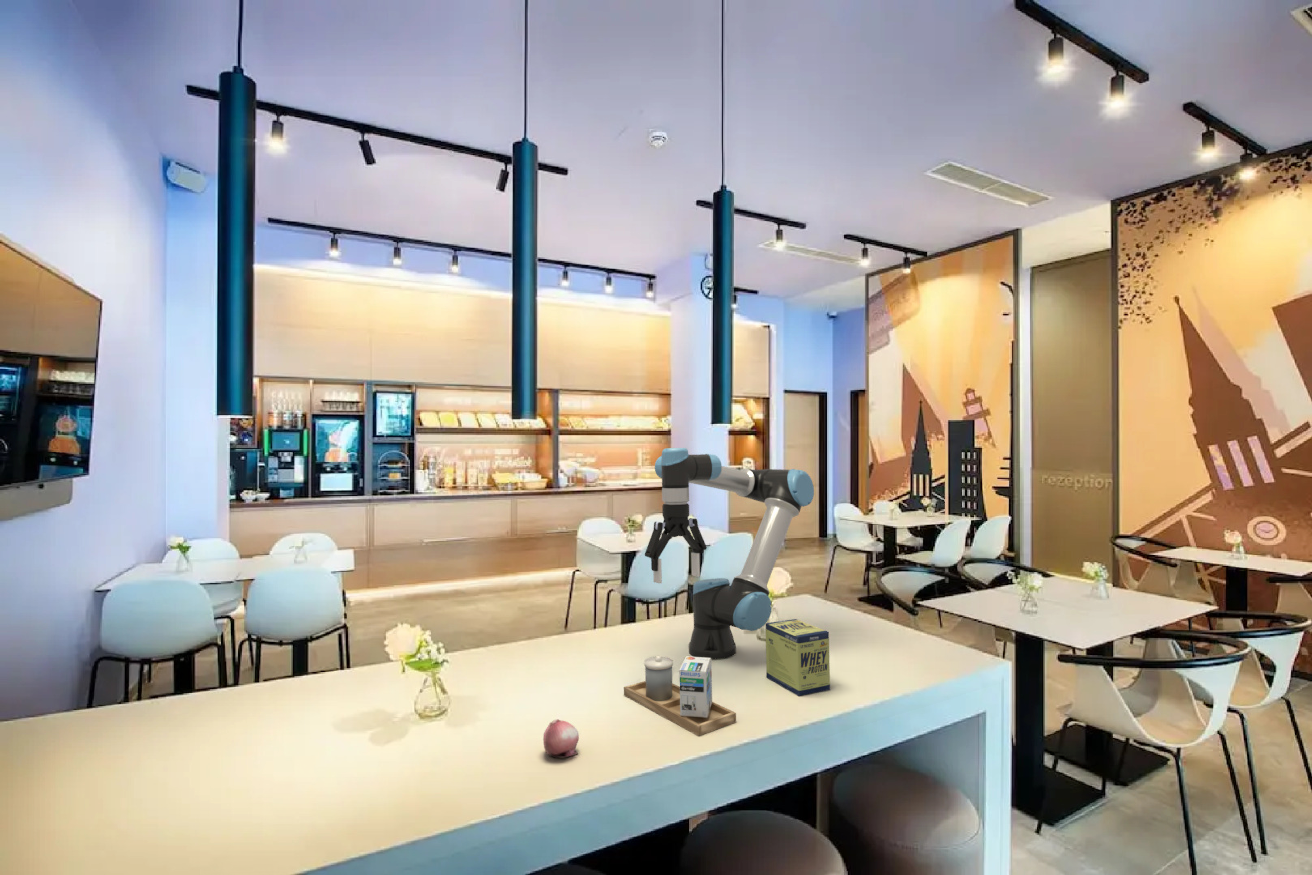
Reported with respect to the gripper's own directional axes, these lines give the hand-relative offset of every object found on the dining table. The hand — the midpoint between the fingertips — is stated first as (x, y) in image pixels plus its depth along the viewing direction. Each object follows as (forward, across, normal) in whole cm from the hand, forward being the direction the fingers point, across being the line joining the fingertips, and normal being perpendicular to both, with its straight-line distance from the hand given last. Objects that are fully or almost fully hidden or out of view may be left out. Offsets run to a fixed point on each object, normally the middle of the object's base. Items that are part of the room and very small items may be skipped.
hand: (677, 579), depth 173 cm
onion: (+29, +45, +16) cm, 56 cm away
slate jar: (+29, +11, +6) cm, 31 cm away
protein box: (+29, -25, +21) cm, 44 cm away
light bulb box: (+27, +11, +20) cm, 35 cm away
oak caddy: (+29, +11, +13) cm, 33 cm away
